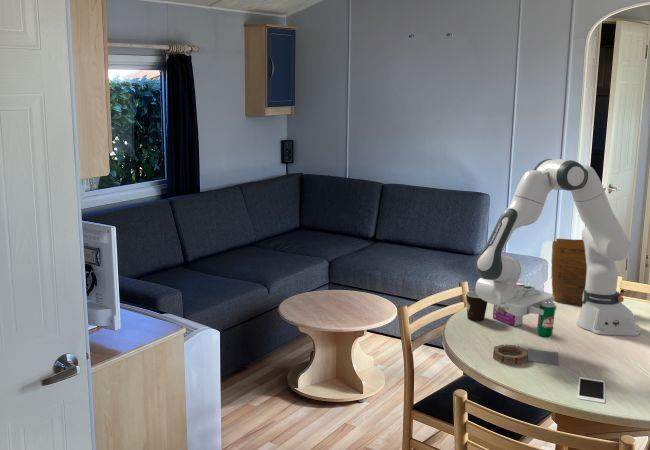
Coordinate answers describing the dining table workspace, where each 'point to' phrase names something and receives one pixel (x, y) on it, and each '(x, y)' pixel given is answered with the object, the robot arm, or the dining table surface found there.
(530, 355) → the coaster
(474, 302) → the coffee mug
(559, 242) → the pancake mix bag
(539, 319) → the soda can
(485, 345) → the dining table surface
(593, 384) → the cell phone
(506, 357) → the walnut ring
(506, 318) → the candy bar box
